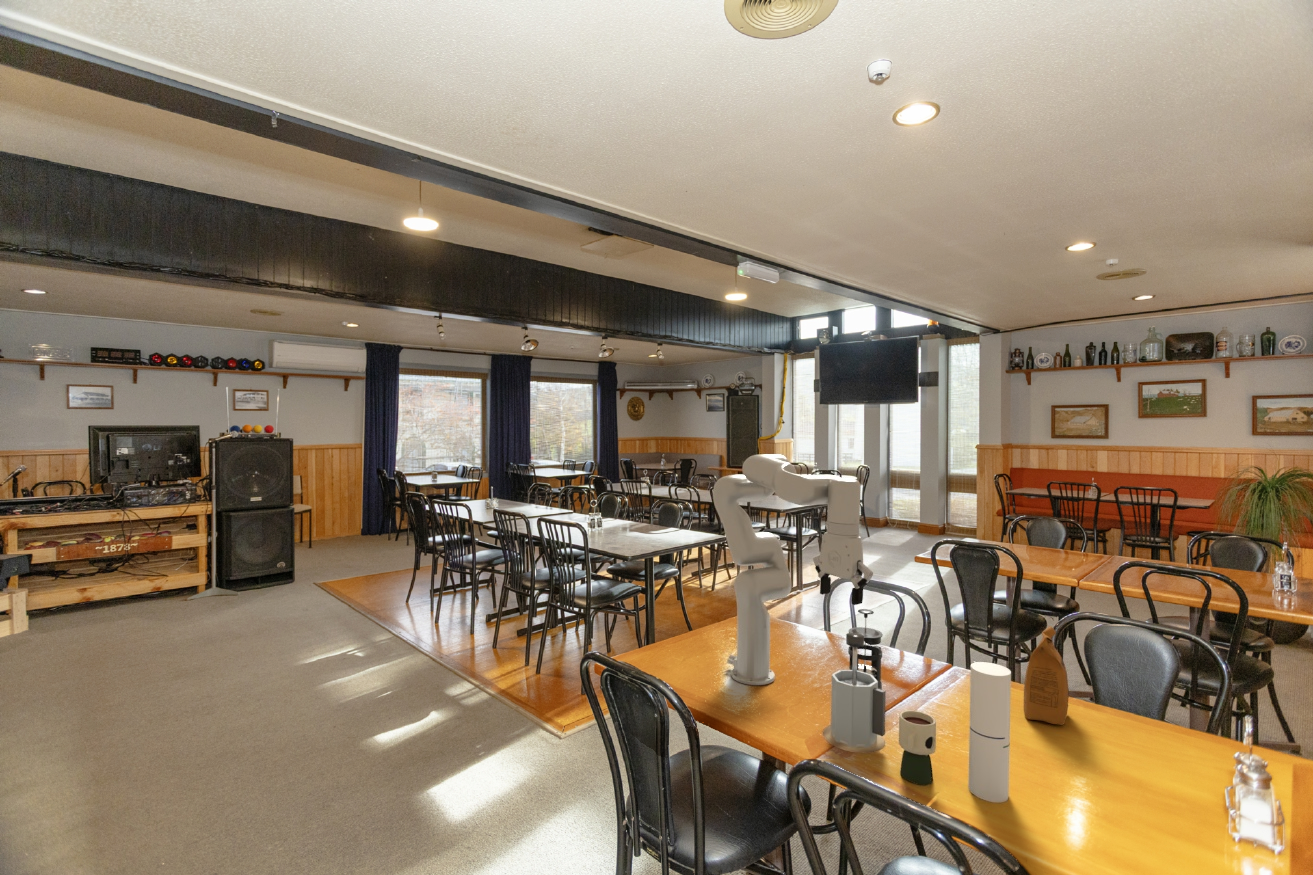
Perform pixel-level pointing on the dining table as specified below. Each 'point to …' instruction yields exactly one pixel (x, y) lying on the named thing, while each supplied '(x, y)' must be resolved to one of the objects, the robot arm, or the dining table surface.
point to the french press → (876, 653)
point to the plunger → (854, 657)
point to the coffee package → (1046, 683)
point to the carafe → (857, 710)
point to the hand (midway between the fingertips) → (840, 598)
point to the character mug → (917, 745)
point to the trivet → (874, 748)
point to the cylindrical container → (989, 731)
